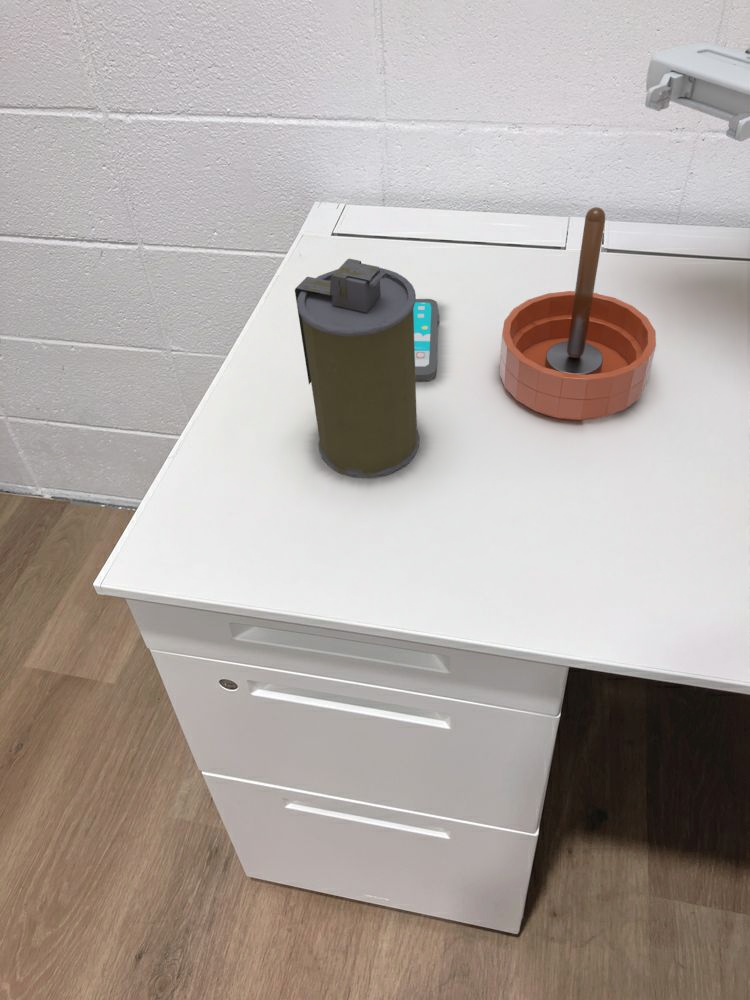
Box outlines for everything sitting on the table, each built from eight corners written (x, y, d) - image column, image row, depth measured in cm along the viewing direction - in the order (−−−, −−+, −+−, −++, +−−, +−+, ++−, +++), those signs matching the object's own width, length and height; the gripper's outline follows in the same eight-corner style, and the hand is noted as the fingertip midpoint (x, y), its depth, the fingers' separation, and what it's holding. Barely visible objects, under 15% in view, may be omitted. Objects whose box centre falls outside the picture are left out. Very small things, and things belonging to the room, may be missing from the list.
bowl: (662, 357, 90) (674, 311, 85) (618, 442, 81) (628, 396, 76) (531, 323, 95) (536, 279, 91) (476, 399, 86) (478, 353, 82)
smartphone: (360, 373, 89) (370, 298, 99) (361, 380, 90) (370, 305, 100) (438, 373, 88) (439, 297, 98) (438, 380, 89) (439, 304, 99)
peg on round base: (608, 363, 88) (639, 200, 74) (589, 395, 85) (617, 229, 71) (556, 349, 90) (577, 188, 77) (535, 379, 87) (553, 216, 73)
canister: (435, 424, 84) (434, 250, 70) (393, 490, 78) (382, 314, 63) (343, 399, 88) (324, 230, 73) (296, 460, 81) (265, 288, 67)
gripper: (707, 16, 83) (612, 50, 78) (896, 67, 71) (798, 110, 66) (693, 81, 87) (602, 117, 82) (868, 139, 75) (775, 185, 70)
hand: (691, 115), depth 74 cm, fingers open, 8 cm apart
